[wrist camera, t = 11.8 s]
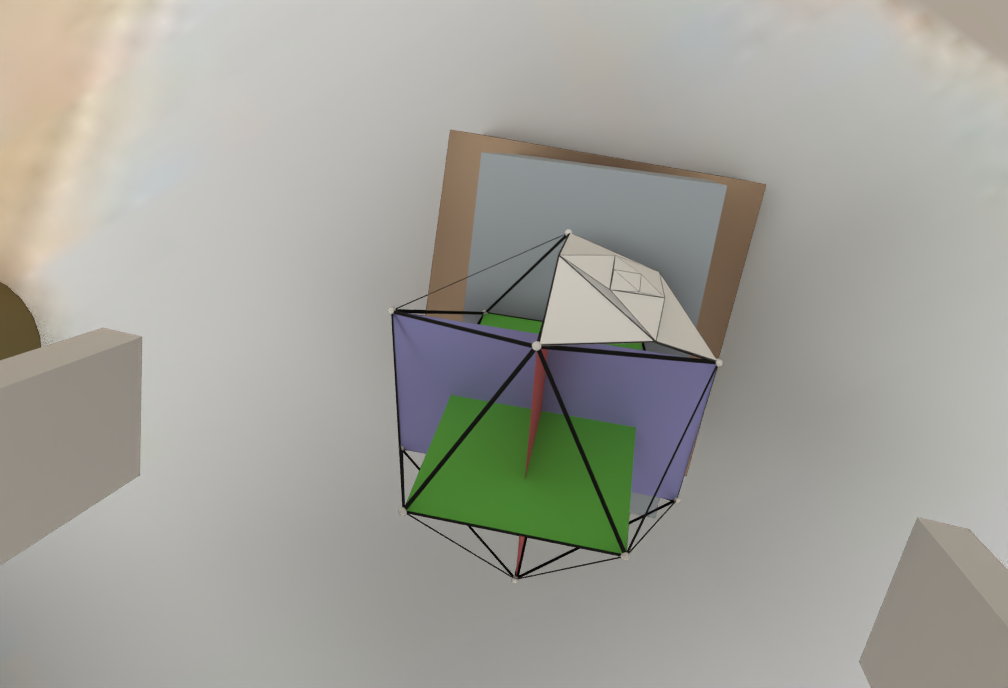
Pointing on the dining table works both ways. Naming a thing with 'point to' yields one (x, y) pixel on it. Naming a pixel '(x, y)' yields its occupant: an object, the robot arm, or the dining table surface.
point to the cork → (16, 325)
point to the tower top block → (586, 233)
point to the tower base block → (468, 147)
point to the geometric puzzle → (553, 406)
